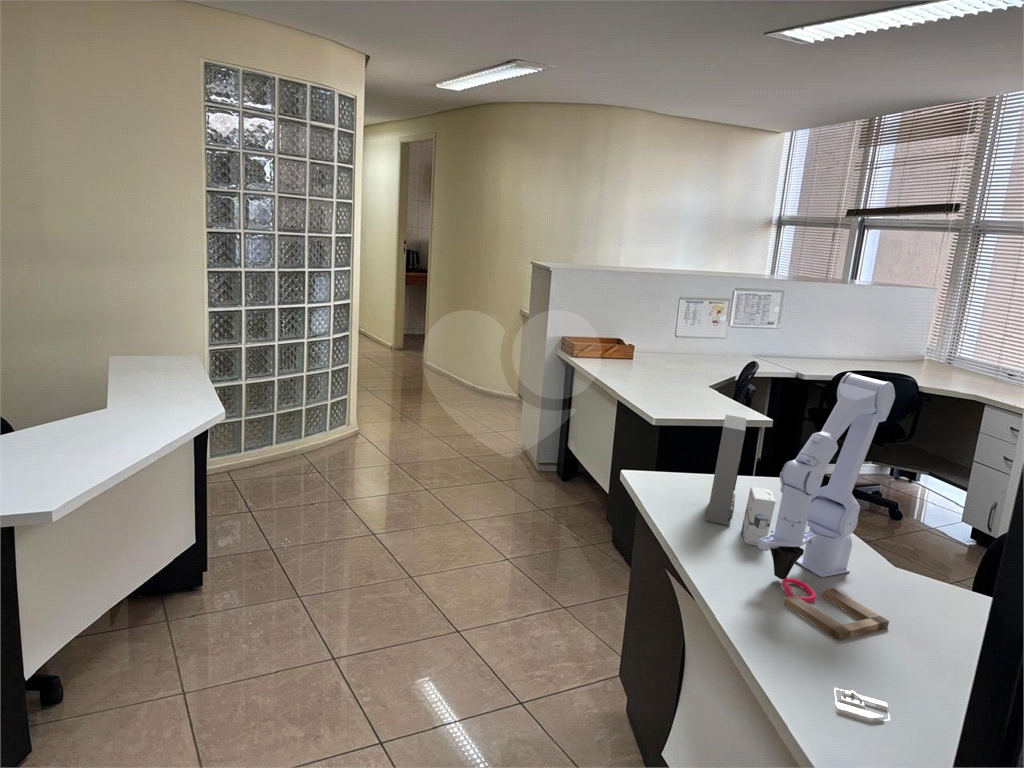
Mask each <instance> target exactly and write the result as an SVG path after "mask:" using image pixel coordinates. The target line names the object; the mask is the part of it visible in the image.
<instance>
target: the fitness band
mask: <svg viewBox="0 0 1024 768" xmlns="http://www.w3.org/2000/svg"><path fill="white" fill-rule="evenodd" d="M789 584H792V585H795V584H796V585H795V586H797V585H798V587H800V586H801V587H803V588H804V589H805V590H806V591H807V592H808V593H809V594H810V595H809V594H808V593H807V592H806V591H805V590H804V589H803V588H802V589H803V590H804V591H805V592H806V593H807V594H808V596H799V595H795V594H794V589H792V588H791V586H790V585H789ZM781 587H782V588H781ZM801 587H800V588H801ZM780 588H781V589H782V591H783V590H784V591H785V592H786V593H787V594H788V595H789V596H790V597H791V596H797V597H799V598H800V599H802V600H803V601H805V602H810V603H814V602H815V601H816V598H817V593H816V591H815V590H814V589H813V588H812V587H811V586H810V585H809V584H808V583H806V582H804V581H803V580H800V579H797V578H792V577H787V578H784V579H782V580H781V584H780ZM784 591H783V592H784ZM785 592H784V593H785ZM786 593H785V594H786ZM787 594H786V595H787ZM788 595H787V596H788ZM789 596H788V597H789Z"/></svg>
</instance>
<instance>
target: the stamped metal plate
mask: <svg viewBox="0 0 1024 768" xmlns="http://www.w3.org/2000/svg"><path fill="white" fill-rule="evenodd" d="M837 691H842V692H843V695H840V696H839V697H838V701H839V702H838V701H837ZM852 696H853V697H857V699H854V700H853V701H852ZM844 697H846V698H845V699H844ZM834 700H835V709H836V713H837V714H840V715H844V716H847V717H852V718H854V719H858V720H861V721H863V722H866V723H878V722H880V723H881V722H887V721H888V722H889V721H891V716H890V706H889V705H888V702H886V701H883V700H882V701H881V700H879V699H876V698H872V697H869V696H864V695H861V694H858V693H856V691H854V690H847V689H846V690H844V689H840V688H837V687H834ZM865 702H866V703H869V704H873V705H875V708H877V709H879V710H883V711H886V713H887V716H888V719H885V717H886V716H885V715H883V714H878V713H875V712H872V711H868V710H865V709H866V704H865Z"/></svg>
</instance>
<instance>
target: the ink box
mask: <svg viewBox="0 0 1024 768" xmlns="http://www.w3.org/2000/svg"><path fill="white" fill-rule="evenodd" d="M775 505H776V498H775V496H774V494H773V491H772V489H768V488H764V487H763V488H762V487H756V486H750V487H749V494H748V498H747V504H746V508H745V512H744V516H743V520H742V524H741V533H742V537H743V541H744V544H748V545H752V546H757V547H758V546H759V541H760V539H761V538H765V537H767V536H768V535H769V533H770V532H769V530H770V526H771V522H772V519H773V518H772V517H773V514H774V511H775V507H776V506H775Z"/></svg>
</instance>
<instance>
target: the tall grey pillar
mask: <svg viewBox="0 0 1024 768" xmlns="http://www.w3.org/2000/svg"><path fill="white" fill-rule="evenodd" d="M746 426H747V418H746V417H743V416H742V417H741V416H736V415H730V414H725V417H724V421H723V426H722V432H721V438H720V444H719V449H718V453H717V454H718V455H717V459H716V465H715V471H714V476H713V481H712V482H713V483H712V486H711V493H710V496H709V501H708V503H709V504H708V507H707V513H706V516H705V521H707V522H712V523H715V524H716V523H717V524H719V525H724V526H730V525H731V522H732V521H731V520H733V515H734V510H735V503H736V502H735V500H736V493H735V491H736V486H737V485H736V484H737V480H738V475H739V469H740V464H741V457H742V450H743V446H744V445H743V444H744V440H745V434H746V428H747V427H746Z"/></svg>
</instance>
